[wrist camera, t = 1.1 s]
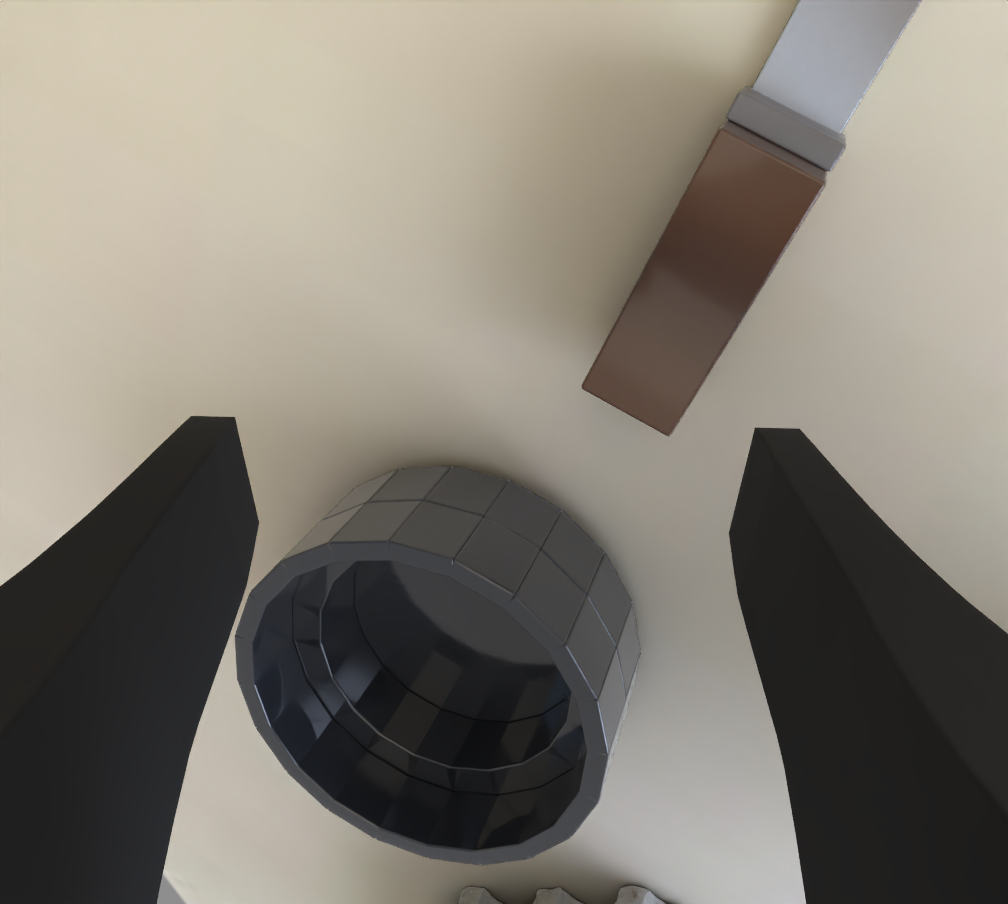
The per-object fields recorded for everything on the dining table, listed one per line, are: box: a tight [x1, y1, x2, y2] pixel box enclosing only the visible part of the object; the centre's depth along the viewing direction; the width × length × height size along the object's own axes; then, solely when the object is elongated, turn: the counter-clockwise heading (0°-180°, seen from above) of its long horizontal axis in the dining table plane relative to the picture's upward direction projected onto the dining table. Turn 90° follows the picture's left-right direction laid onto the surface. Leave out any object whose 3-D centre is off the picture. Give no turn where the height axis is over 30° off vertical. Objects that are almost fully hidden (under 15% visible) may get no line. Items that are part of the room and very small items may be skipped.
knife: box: [582, 0, 922, 436], centre depth 18 cm, size 16×2×3 cm, turn 156°
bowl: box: [235, 466, 641, 865], centre depth 27 cm, size 11×11×5 cm
